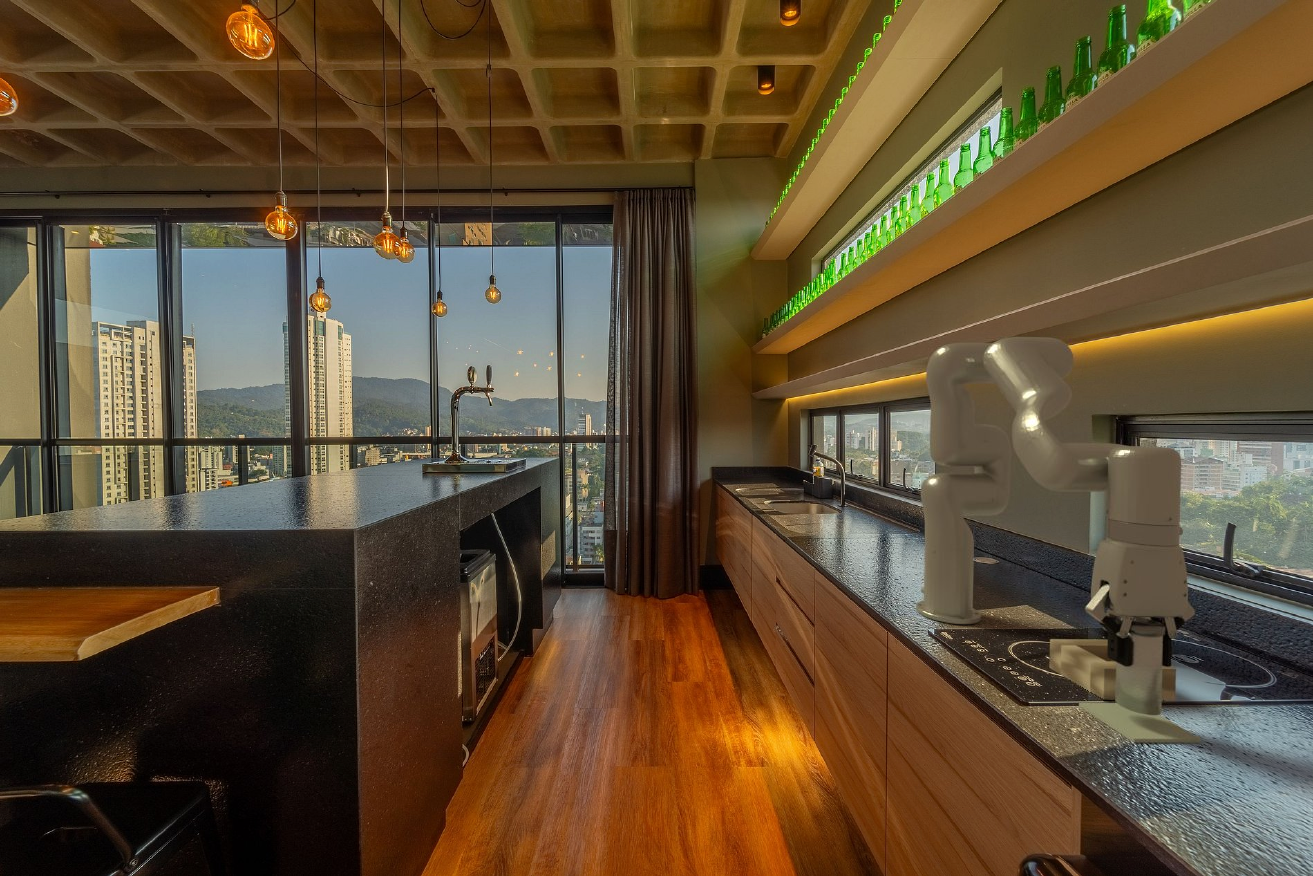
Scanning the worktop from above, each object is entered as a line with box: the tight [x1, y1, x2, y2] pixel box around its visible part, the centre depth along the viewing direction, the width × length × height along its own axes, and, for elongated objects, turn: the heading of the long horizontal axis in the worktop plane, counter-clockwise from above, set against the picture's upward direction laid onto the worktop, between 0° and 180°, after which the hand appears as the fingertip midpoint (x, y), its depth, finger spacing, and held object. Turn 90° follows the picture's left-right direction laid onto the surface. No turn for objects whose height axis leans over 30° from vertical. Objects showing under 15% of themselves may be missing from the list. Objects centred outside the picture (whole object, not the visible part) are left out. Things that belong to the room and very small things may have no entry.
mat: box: [1078, 702, 1202, 744], centre depth 74 cm, size 9×9×1 cm
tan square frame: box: [1048, 638, 1177, 702], centre depth 85 cm, size 11×11×5 cm
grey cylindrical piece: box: [1114, 616, 1165, 716], centre depth 74 cm, size 5×5×12 cm
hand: (1138, 661), depth 74 cm, fingers closed on grey cylindrical piece, 4 cm apart
